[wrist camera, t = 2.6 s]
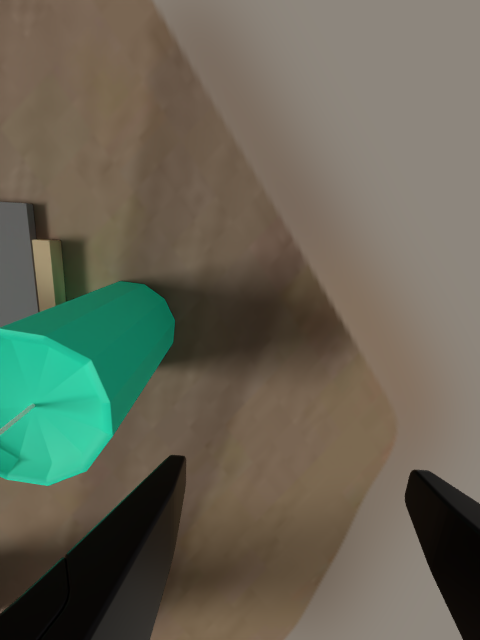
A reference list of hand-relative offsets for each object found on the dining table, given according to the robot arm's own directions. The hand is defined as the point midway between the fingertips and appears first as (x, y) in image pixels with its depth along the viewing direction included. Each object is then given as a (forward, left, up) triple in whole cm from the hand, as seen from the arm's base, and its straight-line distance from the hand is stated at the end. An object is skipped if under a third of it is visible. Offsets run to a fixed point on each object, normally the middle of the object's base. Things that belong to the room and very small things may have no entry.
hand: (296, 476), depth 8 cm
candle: (0, +9, -13) cm, 16 cm away
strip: (0, +14, -13) cm, 19 cm away
